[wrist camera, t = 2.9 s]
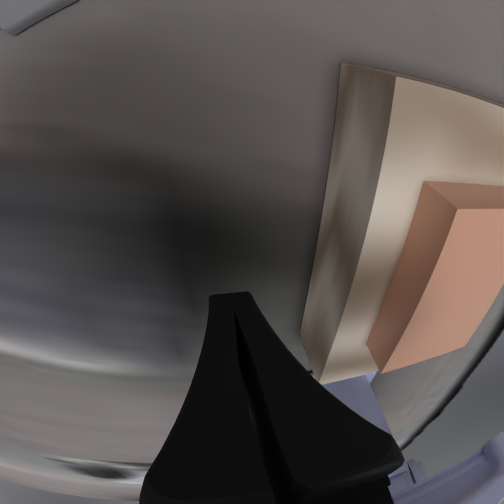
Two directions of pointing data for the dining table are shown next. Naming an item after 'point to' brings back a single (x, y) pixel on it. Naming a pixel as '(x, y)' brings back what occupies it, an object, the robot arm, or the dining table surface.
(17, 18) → the flask
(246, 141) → the dining table surface
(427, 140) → the plate
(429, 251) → the tile
